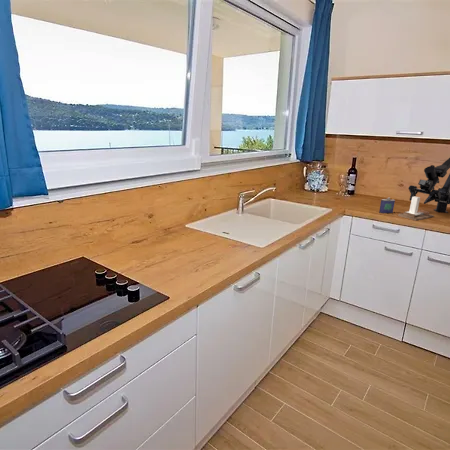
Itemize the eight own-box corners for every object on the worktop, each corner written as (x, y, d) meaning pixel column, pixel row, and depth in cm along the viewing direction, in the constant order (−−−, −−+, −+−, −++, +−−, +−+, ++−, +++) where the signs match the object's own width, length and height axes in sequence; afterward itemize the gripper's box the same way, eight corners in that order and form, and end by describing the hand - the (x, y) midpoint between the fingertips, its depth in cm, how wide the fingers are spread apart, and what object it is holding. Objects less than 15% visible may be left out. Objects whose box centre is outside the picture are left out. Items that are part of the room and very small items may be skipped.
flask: (391, 212, 222) (394, 196, 219) (393, 213, 219) (396, 197, 216) (378, 212, 221) (380, 196, 218) (380, 213, 218) (383, 197, 215)
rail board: (415, 212, 224) (416, 208, 223) (433, 216, 215) (434, 212, 214) (397, 215, 214) (398, 211, 214) (415, 220, 205) (416, 216, 204)
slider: (410, 212, 216) (414, 195, 213) (420, 214, 211) (424, 197, 208) (405, 213, 213) (408, 196, 210) (414, 215, 208) (418, 198, 205)
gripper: (412, 172, 216) (399, 190, 214) (443, 177, 201) (428, 196, 198) (417, 184, 222) (404, 201, 220) (446, 189, 207) (433, 208, 205)
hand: (416, 201), depth 211 cm, fingers open, 9 cm apart
